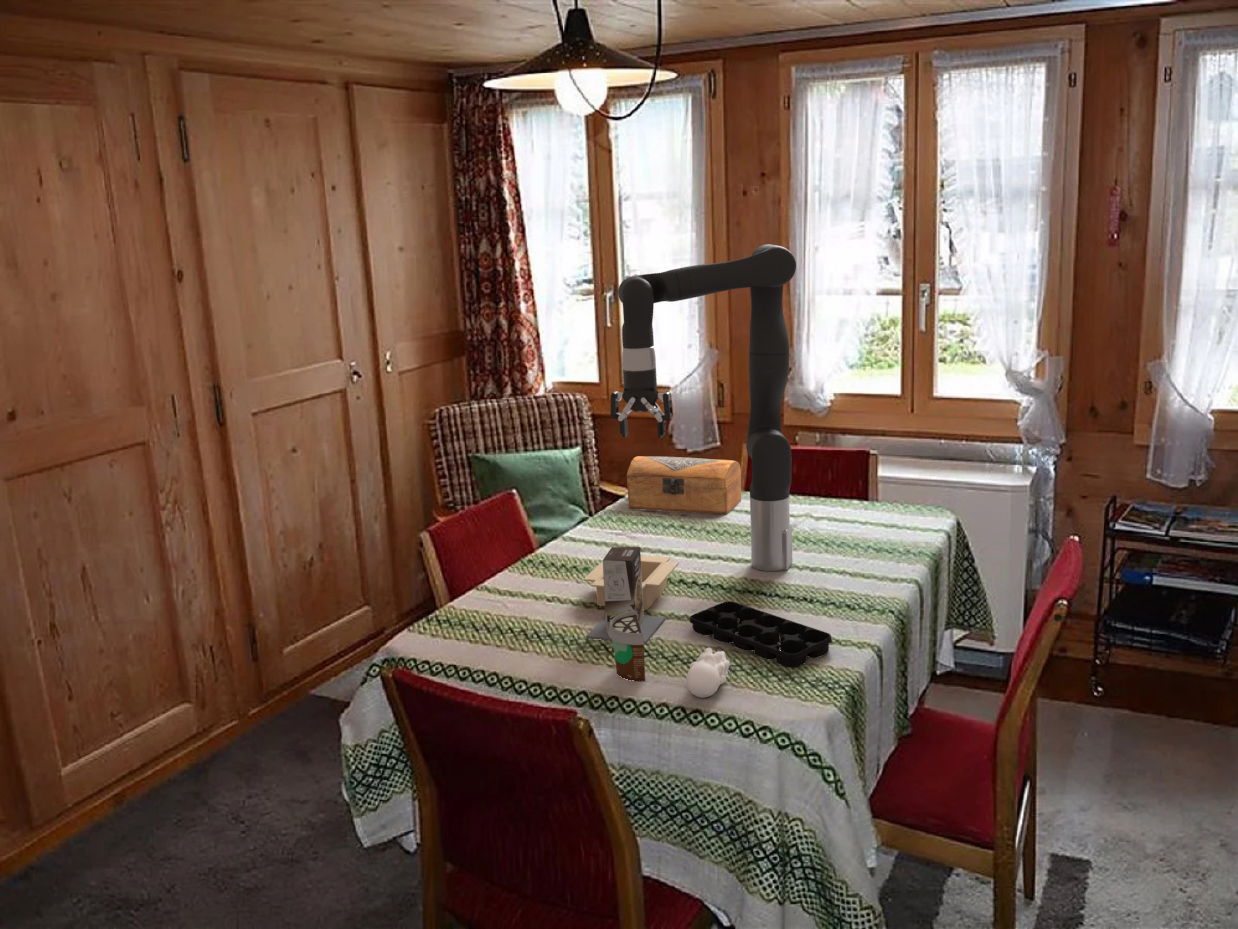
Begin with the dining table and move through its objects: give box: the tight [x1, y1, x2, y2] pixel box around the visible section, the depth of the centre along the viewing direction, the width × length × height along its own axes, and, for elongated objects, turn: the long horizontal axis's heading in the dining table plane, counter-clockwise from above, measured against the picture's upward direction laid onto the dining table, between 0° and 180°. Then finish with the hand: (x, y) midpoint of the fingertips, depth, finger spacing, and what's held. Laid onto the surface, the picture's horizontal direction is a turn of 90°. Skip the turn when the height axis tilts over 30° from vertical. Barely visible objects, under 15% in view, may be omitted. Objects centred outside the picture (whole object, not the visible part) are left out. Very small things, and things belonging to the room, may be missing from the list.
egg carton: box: [689, 600, 833, 669], centre depth 216 cm, size 18×30×4 cm, turn 53°
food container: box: [608, 611, 646, 682], centre depth 204 cm, size 12×6×10 cm, turn 5°
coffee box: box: [602, 546, 645, 633], centre depth 223 cm, size 9×6×16 cm
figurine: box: [685, 647, 731, 699], centre depth 196 cm, size 7×7×12 cm
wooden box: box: [626, 455, 742, 515], centre depth 310 cm, size 30×16×14 cm, turn 67°
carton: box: [583, 555, 679, 611], centre depth 243 cm, size 18×21×6 cm
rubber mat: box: [585, 614, 666, 645], centre depth 225 cm, size 13×13×1 cm
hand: (642, 436), depth 246 cm, fingers open, 8 cm apart
